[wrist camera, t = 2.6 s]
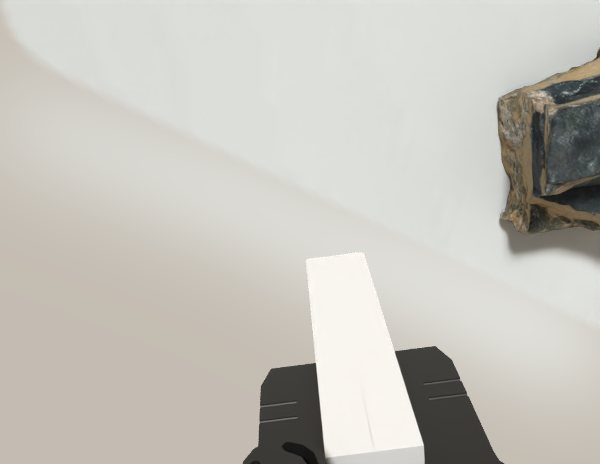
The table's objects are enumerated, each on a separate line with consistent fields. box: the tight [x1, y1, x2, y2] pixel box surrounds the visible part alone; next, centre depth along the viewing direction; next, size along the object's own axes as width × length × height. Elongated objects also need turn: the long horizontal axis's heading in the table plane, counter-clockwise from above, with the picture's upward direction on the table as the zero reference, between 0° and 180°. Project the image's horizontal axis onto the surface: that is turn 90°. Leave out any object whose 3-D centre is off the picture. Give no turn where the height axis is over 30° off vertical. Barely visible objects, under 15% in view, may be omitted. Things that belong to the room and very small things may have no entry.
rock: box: [498, 47, 600, 234], centre depth 26 cm, size 9×9×6 cm
